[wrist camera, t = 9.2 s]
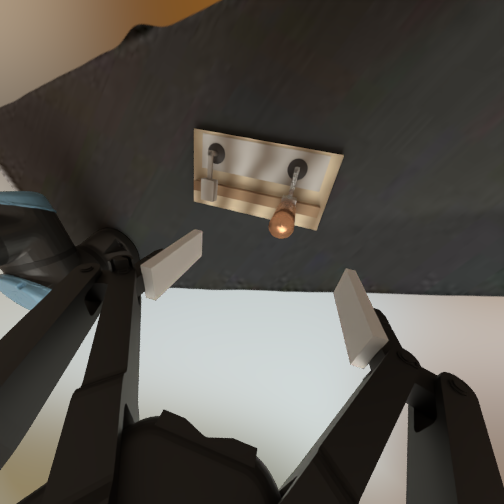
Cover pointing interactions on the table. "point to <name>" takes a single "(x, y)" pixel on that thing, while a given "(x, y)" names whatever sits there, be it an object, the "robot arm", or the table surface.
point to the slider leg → (285, 212)
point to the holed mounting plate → (261, 176)
